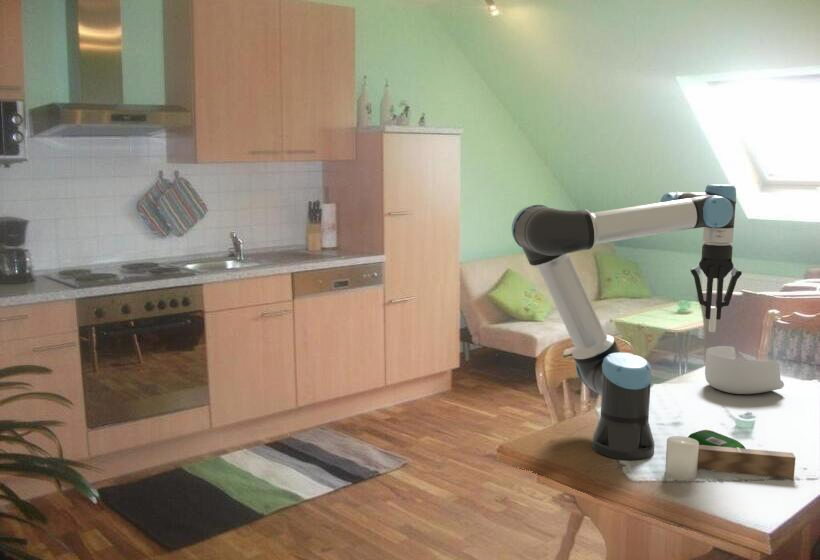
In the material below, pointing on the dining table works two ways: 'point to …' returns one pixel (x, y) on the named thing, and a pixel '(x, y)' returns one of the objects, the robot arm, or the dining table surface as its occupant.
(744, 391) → the bowl
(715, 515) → the dining table surface
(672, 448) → the white tall rounded block
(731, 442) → the snack package
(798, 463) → the dining table surface
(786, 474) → the batten
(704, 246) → the robot arm
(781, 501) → the dining table surface
